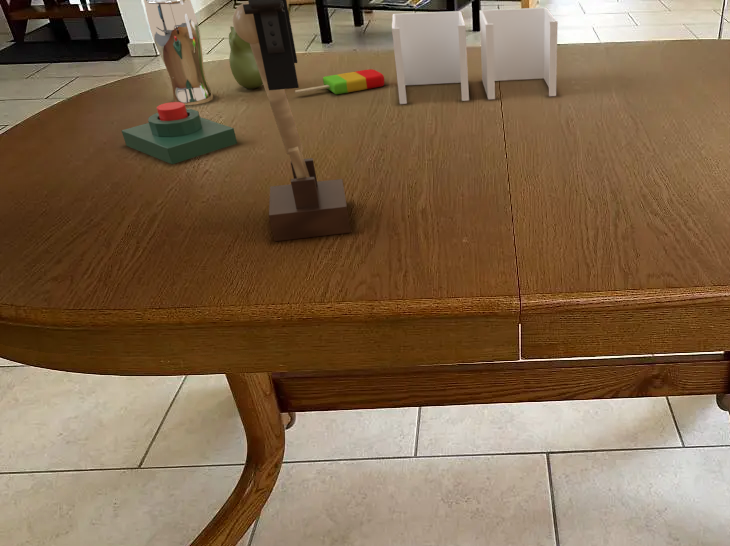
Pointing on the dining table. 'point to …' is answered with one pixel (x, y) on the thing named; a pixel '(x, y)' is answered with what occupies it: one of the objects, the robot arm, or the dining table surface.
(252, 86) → the pear
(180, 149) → the button box
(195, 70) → the beer glass
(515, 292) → the dining table surface
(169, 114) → the button
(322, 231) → the holder
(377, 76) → the popsicle
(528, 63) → the twin white cubbies
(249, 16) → the wooden rod
